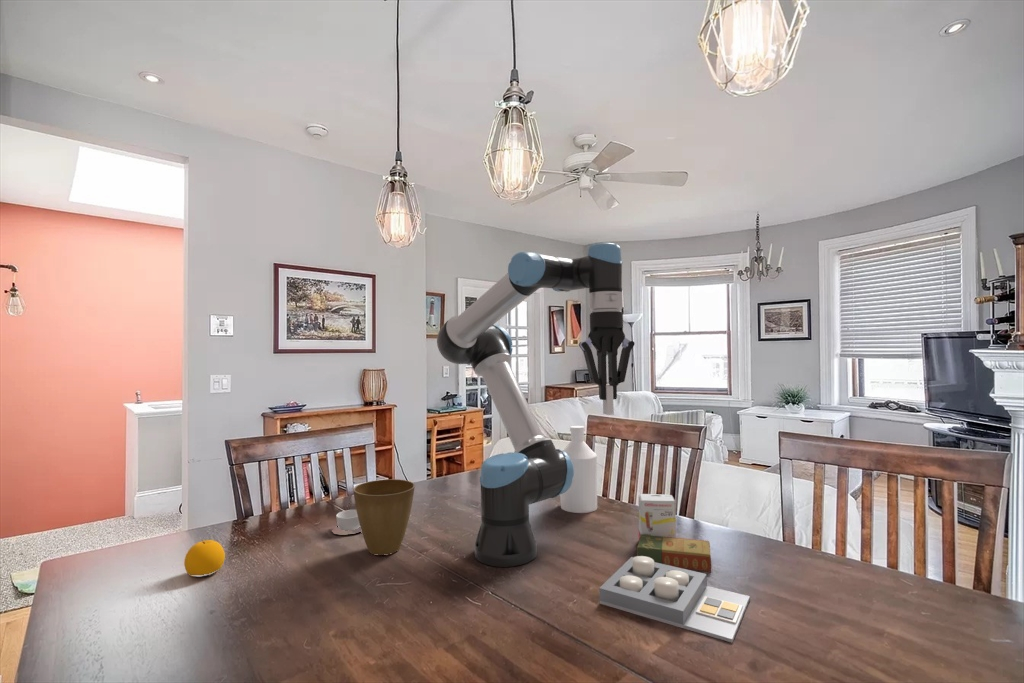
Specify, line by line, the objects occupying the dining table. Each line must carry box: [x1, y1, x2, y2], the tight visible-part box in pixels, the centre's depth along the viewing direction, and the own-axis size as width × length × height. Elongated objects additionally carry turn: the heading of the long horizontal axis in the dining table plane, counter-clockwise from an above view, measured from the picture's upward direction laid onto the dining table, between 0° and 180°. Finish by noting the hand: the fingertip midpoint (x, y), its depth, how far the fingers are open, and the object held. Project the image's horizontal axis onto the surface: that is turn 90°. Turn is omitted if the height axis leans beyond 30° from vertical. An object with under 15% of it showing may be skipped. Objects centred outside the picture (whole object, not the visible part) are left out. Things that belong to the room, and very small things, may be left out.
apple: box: [184, 539, 226, 576], centre depth 113 cm, size 8×8×8 cm
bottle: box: [559, 425, 598, 514], centre depth 156 cm, size 12×12×25 cm
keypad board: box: [599, 556, 751, 643], centre depth 97 cm, size 24×17×3 cm
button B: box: [632, 555, 654, 578], centre depth 104 cm, size 4×4×3 cm
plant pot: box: [352, 478, 416, 555], centre depth 125 cm, size 15×15×16 cm
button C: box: [654, 577, 679, 602], centre depth 95 cm, size 4×4×3 cm
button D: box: [666, 570, 689, 587], centre depth 100 cm, size 4×4×3 cm
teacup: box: [335, 509, 360, 531], centre depth 140 cm, size 10×10×5 cm
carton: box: [636, 534, 712, 572], centre depth 116 cm, size 8×16×4 cm, turn 71°
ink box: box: [638, 493, 677, 540], centre depth 125 cm, size 9×5×12 cm, turn 83°
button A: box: [620, 575, 643, 592], centre depth 99 cm, size 4×4×3 cm
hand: (608, 413), depth 115 cm, fingers closed
